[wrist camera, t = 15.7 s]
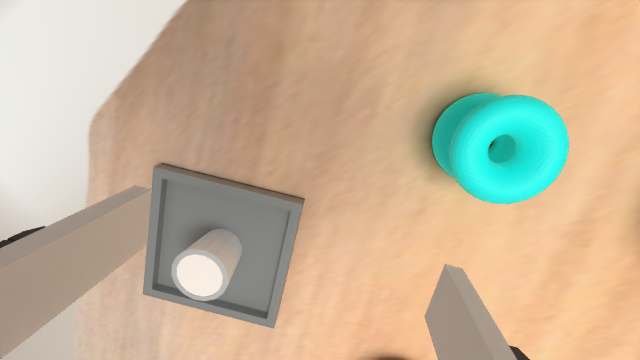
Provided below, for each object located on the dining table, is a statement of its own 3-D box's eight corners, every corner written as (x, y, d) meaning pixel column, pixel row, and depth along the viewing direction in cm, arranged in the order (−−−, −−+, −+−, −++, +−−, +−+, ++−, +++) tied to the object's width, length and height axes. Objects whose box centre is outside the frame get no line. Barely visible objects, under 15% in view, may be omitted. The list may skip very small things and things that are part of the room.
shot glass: (255, 259, 45) (239, 290, 38) (213, 276, 46) (190, 309, 39) (230, 216, 43) (208, 240, 36) (188, 235, 45) (159, 262, 38)
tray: (162, 163, 43) (153, 166, 41) (304, 198, 42) (302, 204, 40) (151, 285, 48) (142, 294, 46) (276, 318, 48) (273, 328, 46)
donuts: (433, 177, 30) (499, 73, 27) (413, 155, 39) (460, 76, 37) (527, 226, 30) (603, 130, 27) (485, 192, 40) (538, 118, 37)
